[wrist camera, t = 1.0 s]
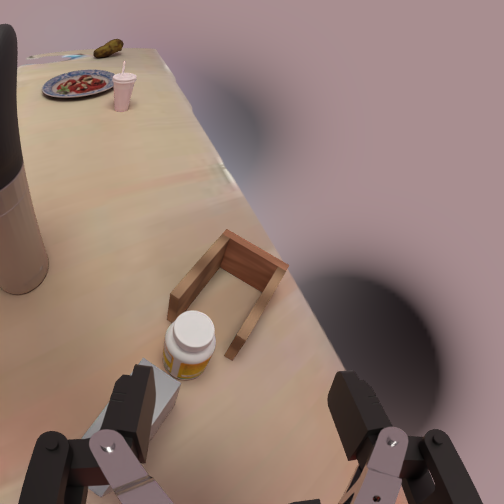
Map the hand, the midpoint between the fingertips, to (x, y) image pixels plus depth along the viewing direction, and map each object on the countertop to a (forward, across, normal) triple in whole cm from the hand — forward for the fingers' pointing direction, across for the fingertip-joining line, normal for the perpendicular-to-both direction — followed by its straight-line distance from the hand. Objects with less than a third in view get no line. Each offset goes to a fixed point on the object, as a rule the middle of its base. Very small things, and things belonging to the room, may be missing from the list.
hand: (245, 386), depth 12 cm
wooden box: (+28, 0, +12) cm, 30 cm away
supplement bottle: (+20, +4, +16) cm, 26 cm away
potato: (+117, +55, -45) cm, 136 cm away
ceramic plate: (+84, +50, -26) cm, 100 cm away
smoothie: (+72, +30, -17) cm, 80 cm away
